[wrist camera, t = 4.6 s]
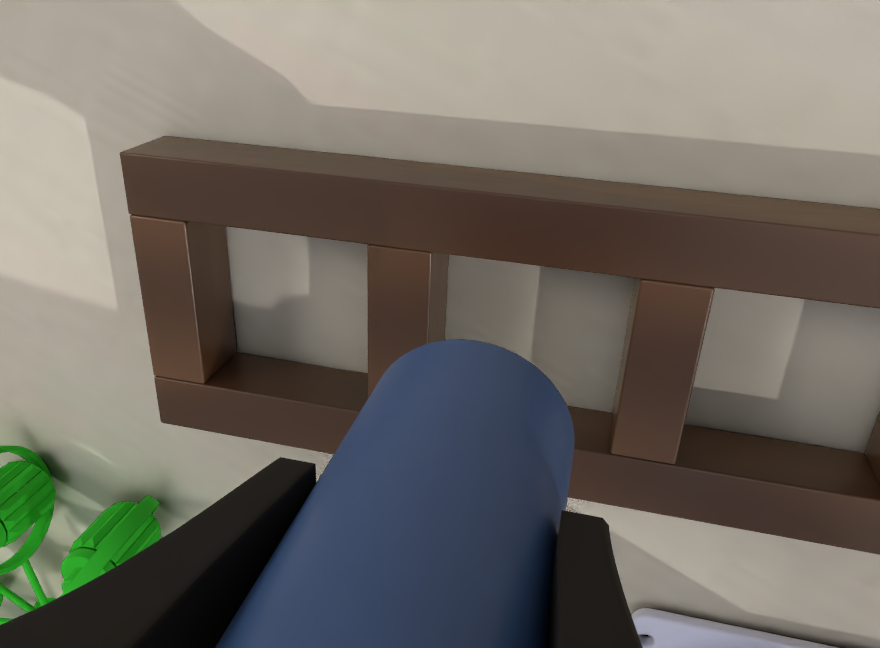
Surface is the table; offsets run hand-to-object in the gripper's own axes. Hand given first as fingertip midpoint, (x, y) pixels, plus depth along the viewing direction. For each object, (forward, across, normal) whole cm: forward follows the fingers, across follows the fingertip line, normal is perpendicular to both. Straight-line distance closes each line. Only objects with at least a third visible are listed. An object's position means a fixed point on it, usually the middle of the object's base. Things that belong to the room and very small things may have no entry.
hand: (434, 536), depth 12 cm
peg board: (+9, 0, 0) cm, 9 cm away
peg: (+3, 0, 0) cm, 3 cm away
